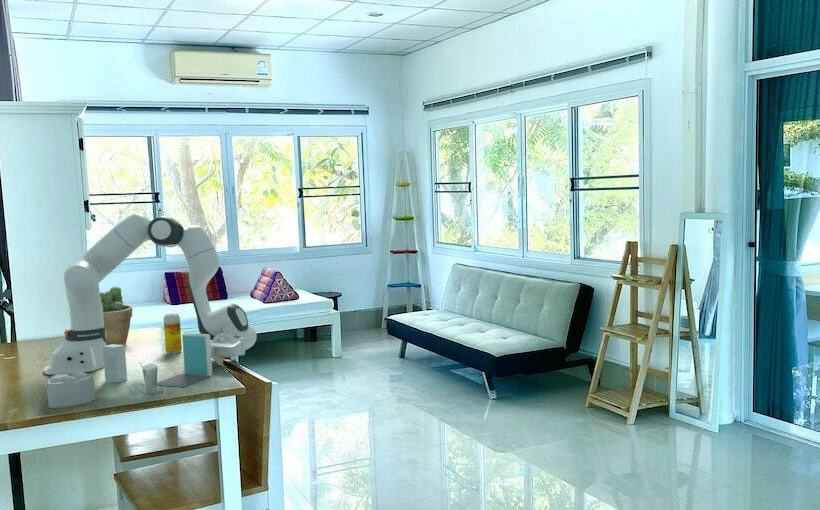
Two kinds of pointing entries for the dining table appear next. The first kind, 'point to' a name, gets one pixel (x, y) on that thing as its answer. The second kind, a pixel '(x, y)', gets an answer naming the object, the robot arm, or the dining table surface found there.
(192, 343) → the tile
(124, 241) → the robot arm
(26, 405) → the dining table surface
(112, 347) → the skincare box
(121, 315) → the potted plant
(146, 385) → the milkshake
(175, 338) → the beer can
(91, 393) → the lumpy-topped squat cylinder
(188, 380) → the mat
